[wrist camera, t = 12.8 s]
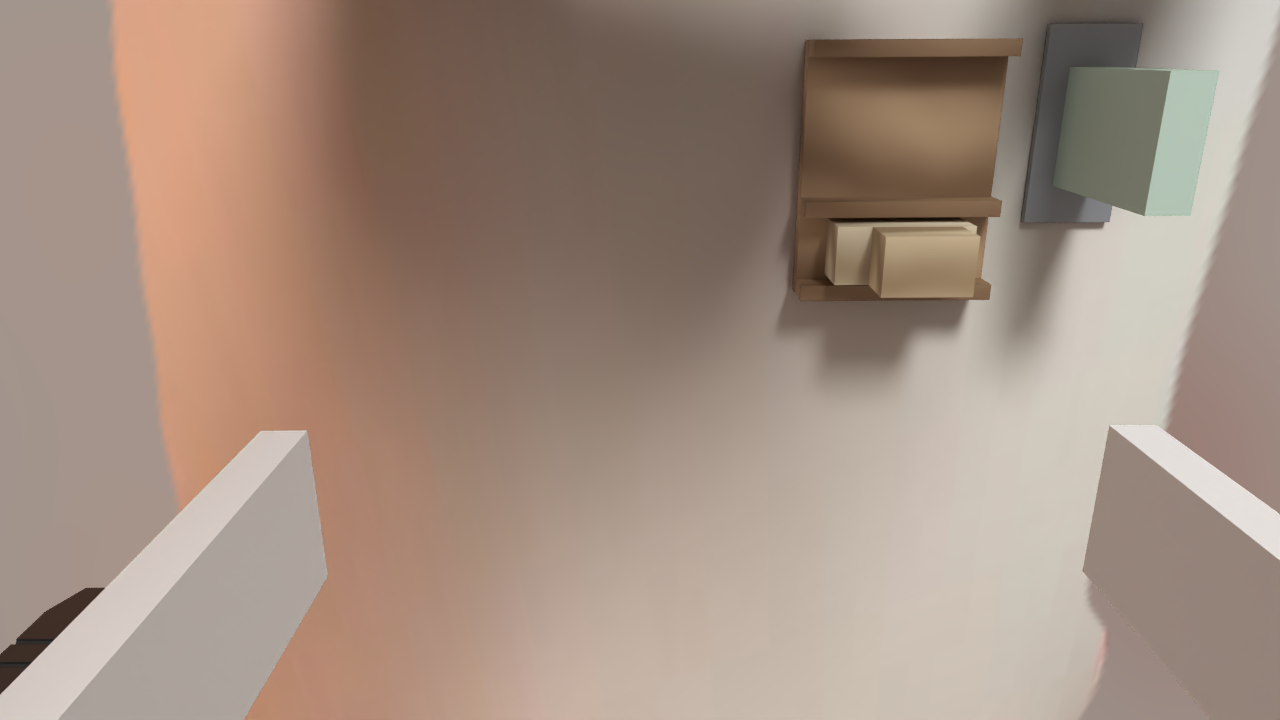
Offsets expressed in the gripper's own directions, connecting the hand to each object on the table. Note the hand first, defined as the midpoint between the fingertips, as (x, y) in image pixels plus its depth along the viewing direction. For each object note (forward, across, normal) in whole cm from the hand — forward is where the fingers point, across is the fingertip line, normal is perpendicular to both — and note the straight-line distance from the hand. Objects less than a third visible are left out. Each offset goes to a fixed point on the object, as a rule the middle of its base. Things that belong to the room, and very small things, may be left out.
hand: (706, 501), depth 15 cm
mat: (+35, +22, +3) cm, 41 cm away
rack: (+35, +12, +1) cm, 37 cm away
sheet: (+34, +22, +3) cm, 41 cm away
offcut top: (+31, +13, -3) cm, 34 cm away
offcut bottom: (+34, +12, -3) cm, 36 cm away
